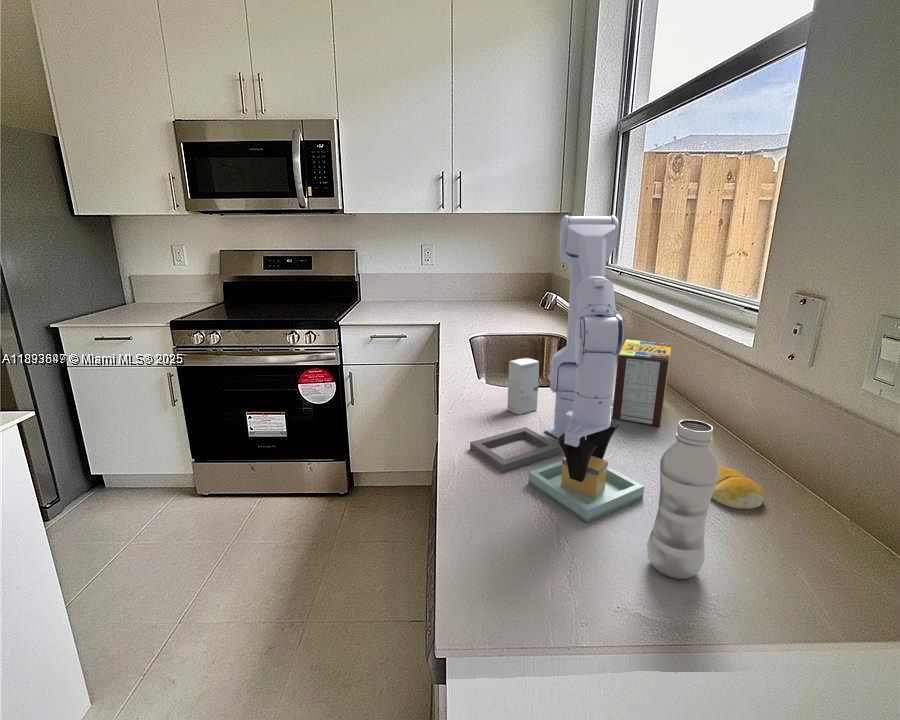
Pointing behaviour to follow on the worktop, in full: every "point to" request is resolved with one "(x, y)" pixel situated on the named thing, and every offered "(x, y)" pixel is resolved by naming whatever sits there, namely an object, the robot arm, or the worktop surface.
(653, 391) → the protein box
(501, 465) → the grey rectangular frame
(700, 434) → the plastic bottle
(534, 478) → the parts tray
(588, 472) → the tan box
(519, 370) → the skincare box
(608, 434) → the robot arm
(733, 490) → the bread roll
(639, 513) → the worktop surface
